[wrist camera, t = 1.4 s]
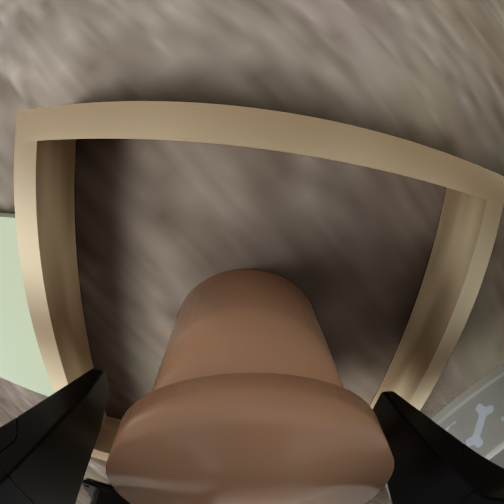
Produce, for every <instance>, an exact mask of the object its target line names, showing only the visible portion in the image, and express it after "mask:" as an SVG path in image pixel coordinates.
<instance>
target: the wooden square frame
mask: <svg viewBox="0 0 504 504" xmlns="http://www.w3.org/2000/svg"><path fill="white" fill-rule="evenodd" d="M77 139H153V140H173V141H189V142H202V143H214V144H224V145H234V146H243V147H251V148H259V149H267V150H274V151H281V152H288V153H295V154H301V155H307V156H313V157H319V158H324V159H330V160H335V161H340V162H345V163H350V164H355V165H360V166H365V167H369V168H374V169H378V170H382V171H387V172H391V173H395V174H399V175H403V176H407V177H411V178H415V179H419V180H422V181H426V182H430V183H433V184H437V185H440V186H444V187H446V193H445V198H444V203H443V207H442V212H441V216H440V220H439V225H438V229H437V233H436V237H435V241H434V244H433V248H432V252H431V255H430V259H429V262H428V265H427V269H426V272H425V275H424V278H423V281H422V285H421V288H420V291H419V294H418V296H417V299H416V302H415V305H414V308H413V310H412V313H411V316H410V319H409V321H408V324H407V326H406V329H405V331H404V334H403V336H402V339H401V341H400V344H399V346H398V348H397V351H396V353H395V355H394V358H393V360H392V362H391V364H390V367H389V369H388V371H387V373H386V375H385V377H384V379H383V382H382V384H381V386H380V388H379V390H378V392H377V394H376V396H375V398H374V400H373V402H372V403H371V405H370V407H371V408H372V410H373V407H374V405H375V404H376V402H377V400H378V398H379V396H380V394H381V393H382V392H384V391H394V392H395V393H397V394H398V395H399V396H401V397H402V398H403V399H405V400H406V401H407V402H408V403H410V404H411V405H412V406H414V407H415V408H416V409H418V410H419V411H420V410H421V408H422V406H423V405H424V403H425V402H426V400H427V398H428V397H429V395H430V393H431V391H432V390H433V388H434V386H435V385H436V383H437V381H438V379H439V377H440V376H441V374H442V372H443V370H444V368H445V366H446V364H447V362H448V360H449V358H450V356H451V354H452V352H453V350H454V348H455V346H456V344H457V342H458V340H459V338H460V336H461V333H462V331H463V329H464V327H465V324H466V322H467V320H468V317H469V315H470V313H471V310H472V308H473V305H474V303H475V300H476V297H477V295H478V292H479V289H480V287H481V284H482V281H483V278H484V275H485V272H486V269H487V266H488V263H489V260H490V256H491V253H492V249H493V246H494V242H495V239H496V235H497V231H498V227H499V223H500V219H501V214H502V210H503V205H504V176H502V175H500V174H497V173H495V172H493V171H491V170H488V169H486V168H483V167H481V166H479V165H476V164H474V163H471V162H469V161H466V160H464V159H461V158H458V157H456V156H453V155H450V154H448V153H445V152H442V151H439V150H436V149H433V148H430V147H427V146H424V145H421V144H418V143H415V142H412V141H409V140H405V139H402V138H398V137H395V136H392V135H388V134H384V133H381V132H377V131H373V130H369V129H365V128H361V127H357V126H353V125H349V124H344V123H340V122H335V121H330V120H325V119H320V118H315V117H310V116H304V115H299V114H293V113H287V112H280V111H274V110H266V109H259V108H251V107H242V106H233V105H222V104H210V103H194V102H172V101H116V102H94V103H80V104H68V105H58V106H49V107H41V108H34V109H27V110H21V111H17V120H16V131H15V148H14V203H15V219H16V231H17V241H18V250H19V257H20V264H21V271H22V277H23V282H24V288H25V293H26V298H27V303H28V307H29V312H30V316H31V320H32V324H33V328H34V332H35V336H36V339H37V343H38V346H39V350H40V353H41V356H42V359H43V362H44V365H45V369H46V371H47V374H48V377H49V380H50V383H51V386H52V388H53V391H54V393H55V392H57V391H58V390H60V389H61V388H63V387H64V386H66V385H68V384H69V383H71V382H72V381H74V380H75V379H77V378H78V377H80V376H81V375H83V374H85V373H86V372H88V371H89V370H91V369H93V368H94V366H93V362H92V357H91V353H90V348H89V343H88V337H87V332H86V326H85V320H84V314H83V307H82V300H81V293H80V284H79V275H78V265H77V252H76V237H75V207H74V185H75V156H76V140H77ZM120 422H121V419H117V418H113V417H109V416H106V412H104V416H103V420H102V425H101V429H100V432H99V435H98V438H97V441H96V444H95V446H94V449H93V452H92V455H91V457H94V458H98V459H101V460H105V461H107V460H108V456H109V453H110V451H111V448H112V445H113V442H114V439H115V436H116V433H117V431H118V428H119V425H120Z"/></svg>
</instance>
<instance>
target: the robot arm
mask: <svg viewBox="0 0 504 504" xmlns="http://www.w3.org/2000/svg"><path fill="white" fill-rule="evenodd" d="M108 397H109V385H108V380H107V376H106V372H105V371H104V370H100V369H96V368H93V369H91V370H89V371H88V372H86V373H85V374H83V375H81V376H80V377H78V378H77V379H75V380H74V381H72V382H71V383H69V384H68V385H66V386H64V387H63V388H61V389H60V390H58V391H57V392H55V393H54V394H52V395H51V396H49V397H47V398H46V399H44V400H43V401H41V402H40V403H38V404H37V405H35V406H33V407H32V408H30V409H29V410H27V411H26V412H24V413H22V414H21V415H19V416H18V418H14V419H13V420H11V421H10V422H8V423H6V424H5V425H3V426H1V427H0V504H75V502H76V499H77V496H78V493H79V490H80V487H81V484H82V485H83V487H84V488H85V490H86V491H87V493H88V494H89V495H90V497H91V498H92V499H91V502H90V504H130V503H129V502H128V501H127V500H125V499H124V498H123V497H122V496H121V495H120V494H119V493H118V492H117V491H116V490H115V489H114V488H110V487H107V486H103V485H100V484H97V483H94V482H91V481H87V480H83V478H84V475H85V472H86V469H87V466H88V463H89V460H90V458H91V455H92V452H93V449H94V446H95V444H96V441H97V438H98V435H99V432H100V429H101V425H102V420H103V416H104V412H105V408H106V405H107V401H108ZM373 411H374V412H375V414H376V416H377V418H378V421H379V423H380V426H381V428H382V430H383V433H384V435H385V438H386V440H387V442H388V445H389V447H390V450H391V452H392V455H393V458H394V470H393V473H392V476H391V477H390V479H389V481H388V482H387V485H388V489H389V493H390V497H391V501H392V504H504V468H502V467H500V466H498V465H497V464H495V463H493V462H491V461H489V460H488V459H486V458H484V457H483V456H481V455H480V454H478V453H477V452H475V451H474V450H472V449H471V448H469V447H468V446H467V445H465V444H464V443H462V442H461V441H460V440H458V439H457V438H456V437H454V436H453V435H451V434H450V433H449V432H447V431H446V430H445V429H443V428H442V427H441V426H439V425H438V424H437V423H435V422H434V421H433V420H431V419H430V418H428V417H427V416H426V415H424V414H423V413H422V412H420V411H419V410H418V409H416V408H415V407H414V406H412V405H411V404H410V403H408V402H407V401H406V400H405V399H403V398H402V397H401V396H399V395H398V394H397V393H395V392H394V391H384V392H382V393H381V394H380V396H379V398H378V400H377V402H376V404H375V405H374V407H373Z"/></svg>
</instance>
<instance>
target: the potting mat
mask: <svg viewBox="0 0 504 504" xmlns="http://www.w3.org/2000/svg"><path fill="white" fill-rule="evenodd" d="M0 377H1V378H4V379H6V380H8V381H10V382H13V383H15V384H17V385H20V386H22V387H25V388H27V389H30V390H32V391H35V392H38V393H40V394H43V395H46V396H51V395H52V394H54V391H53V388H52V386H51V383H50V380H49V377H48V374H47V371H46V369H45V365H44V362H43V359H42V356H41V353H40V350H39V346H38V343H37V339H36V336H35V332H34V328H33V324H32V320H31V316H30V312H29V307H28V303H27V298H26V293H25V288H24V282H23V277H22V271H21V264H20V257H19V250H18V241H17V231H16V219H15V214H12V213H0Z"/></svg>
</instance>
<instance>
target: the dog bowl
mask: <svg viewBox="0 0 504 504" xmlns="http://www.w3.org/2000/svg"><path fill="white" fill-rule="evenodd" d="M431 420H433V421H434V422H435V423H437V424H438V425H439V426H441V427H442V428H443V429H445V430H446V431H447V432H449V433H450V434H451V435H453V436H454V437H456V438H457V439H458V440H460V441H461V442H462V443H464V444H465V445H467V446H468V447H469V448H471V449H472V450H474V451H475V452H477V453H478V454H480V455H481V456H483V457H484V458H486V459H488V460H489V461H491V462H493V463H495V464H497V465H498V466H500V467H502V468H504V364H503V365H501V366H499V367H498V368H496V369H495V370H493V371H492V372H490V373H489V374H487V375H486V376H484V377H483V378H482V379H480V380H479V381H477V382H476V383H475V384H473V385H472V386H471V387H469V388H468V389H467V390H465V391H464V392H463V393H462V394H460V395H459V396H458V397H457V398H455V399H454V400H453V401H452V402H450V403H449V404H448V405H447V406H445V407H444V408H443V409H442V410H441V411H439V412H438V413H437V414H436V415H435V416H434V417H433V418H431ZM385 487H386V490H387V492H388V495H389V498H390V500H391V497H390V493H389V489H388V485H387V484H386V485H385ZM391 504H392V501H391Z"/></svg>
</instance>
